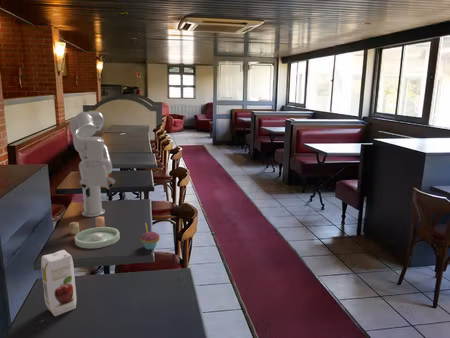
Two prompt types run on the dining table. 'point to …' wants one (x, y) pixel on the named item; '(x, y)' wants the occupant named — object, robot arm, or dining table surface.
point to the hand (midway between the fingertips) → (98, 196)
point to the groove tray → (97, 237)
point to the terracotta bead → (100, 221)
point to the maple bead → (74, 228)
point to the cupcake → (149, 239)
